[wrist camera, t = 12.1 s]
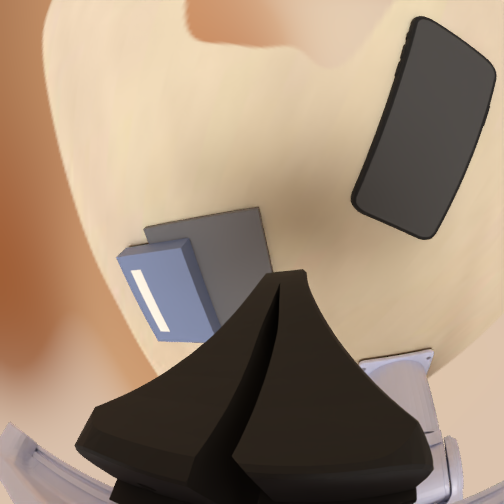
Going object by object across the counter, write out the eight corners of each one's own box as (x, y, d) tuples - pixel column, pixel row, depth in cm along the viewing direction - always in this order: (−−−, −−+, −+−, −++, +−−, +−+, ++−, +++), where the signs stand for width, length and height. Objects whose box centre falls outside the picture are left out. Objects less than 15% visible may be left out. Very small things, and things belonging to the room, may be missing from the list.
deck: (217, 342, 23) (158, 341, 24) (222, 329, 24) (164, 329, 26) (180, 248, 19) (116, 257, 20) (189, 237, 20) (126, 247, 22)
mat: (286, 337, 24) (286, 340, 24) (193, 339, 26) (192, 342, 26) (258, 207, 19) (257, 209, 18) (145, 226, 21) (143, 229, 20)
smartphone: (345, 208, 17) (415, 8, 9) (343, 203, 18) (411, 12, 10) (431, 246, 17) (500, 68, 9) (427, 240, 18) (493, 69, 10)
